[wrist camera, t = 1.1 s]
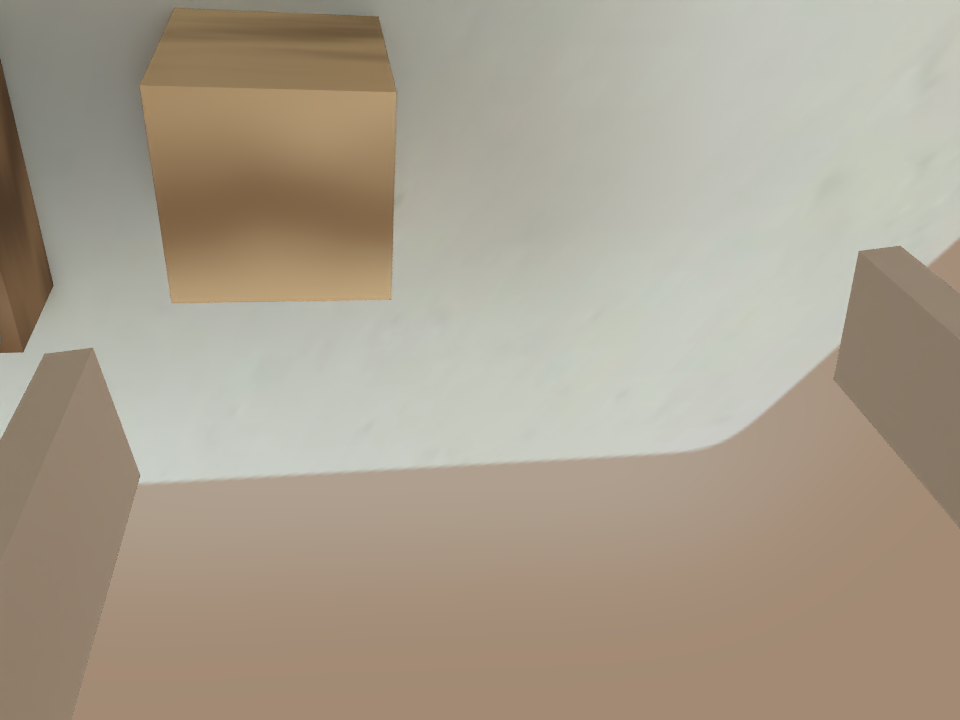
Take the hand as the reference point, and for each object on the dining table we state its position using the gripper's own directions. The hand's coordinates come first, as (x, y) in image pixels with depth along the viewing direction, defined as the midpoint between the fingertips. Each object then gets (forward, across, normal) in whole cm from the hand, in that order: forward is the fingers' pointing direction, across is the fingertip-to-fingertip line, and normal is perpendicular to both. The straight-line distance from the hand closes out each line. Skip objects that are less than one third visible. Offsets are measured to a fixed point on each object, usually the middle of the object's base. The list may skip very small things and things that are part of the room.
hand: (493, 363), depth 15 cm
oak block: (+21, -5, -1) cm, 21 cm away
